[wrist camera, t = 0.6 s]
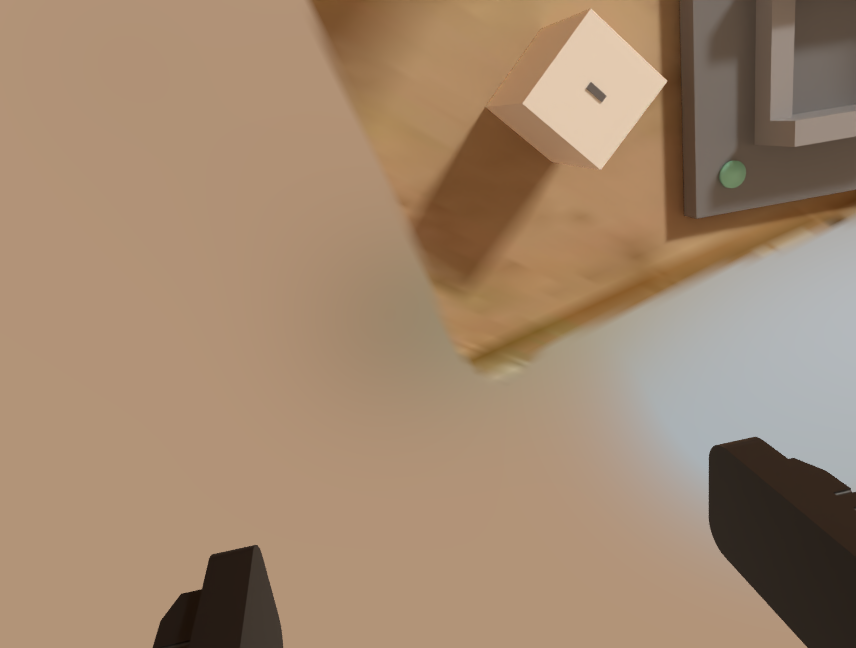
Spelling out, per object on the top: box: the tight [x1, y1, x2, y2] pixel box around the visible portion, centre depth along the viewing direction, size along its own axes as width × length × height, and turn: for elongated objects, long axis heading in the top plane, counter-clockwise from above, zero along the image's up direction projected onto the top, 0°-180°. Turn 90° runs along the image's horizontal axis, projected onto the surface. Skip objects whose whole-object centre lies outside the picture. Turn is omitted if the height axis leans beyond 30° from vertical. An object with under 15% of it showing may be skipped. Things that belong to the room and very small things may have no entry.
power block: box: [680, 0, 856, 219], centre depth 32 cm, size 18×15×4 cm
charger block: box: [486, 9, 667, 170], centre depth 30 cm, size 4×4×6 cm
